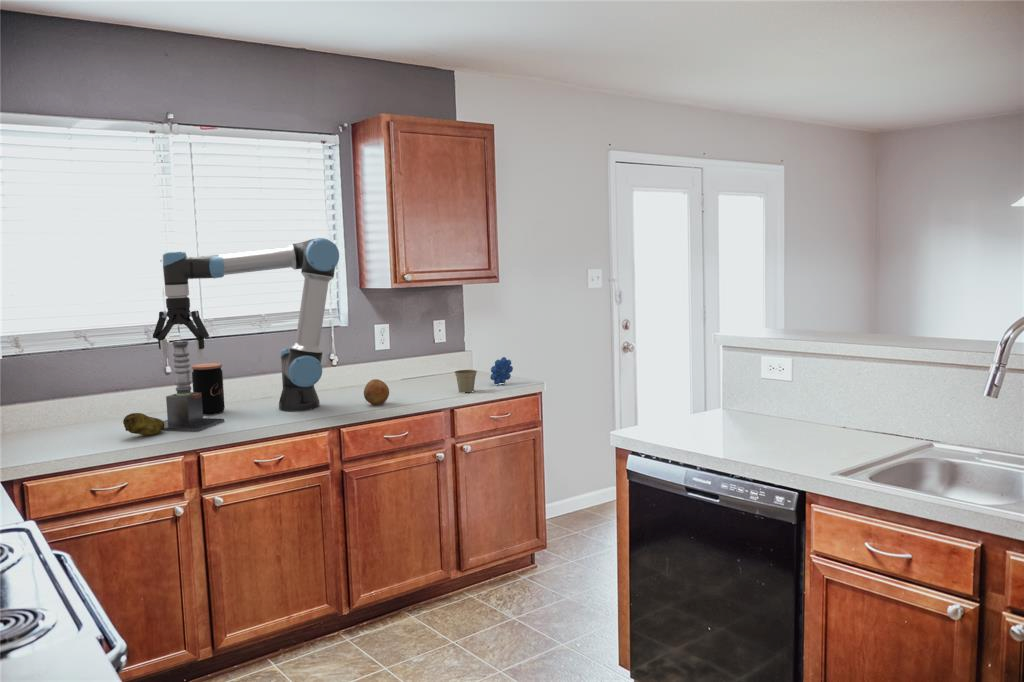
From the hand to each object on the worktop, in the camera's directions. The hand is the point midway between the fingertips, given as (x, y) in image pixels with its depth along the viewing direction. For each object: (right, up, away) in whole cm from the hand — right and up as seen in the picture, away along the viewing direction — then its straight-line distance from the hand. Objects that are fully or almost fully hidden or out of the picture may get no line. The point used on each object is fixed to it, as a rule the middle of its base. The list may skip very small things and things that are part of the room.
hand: (182, 358), depth 279 cm
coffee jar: (0, -21, +25) cm, 33 cm away
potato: (-8, -25, -11) cm, 29 cm away
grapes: (+109, -13, +75) cm, 133 cm away
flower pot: (+95, -15, +58) cm, 112 cm away
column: (0, -16, +2) cm, 16 cm away
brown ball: (+62, -19, +34) cm, 73 cm away
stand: (0, -23, +3) cm, 24 cm away
